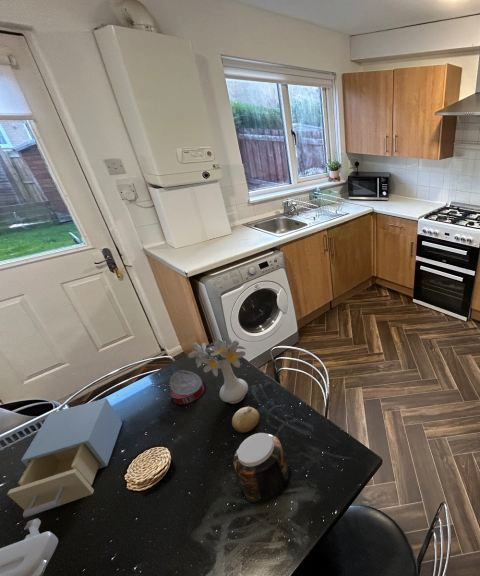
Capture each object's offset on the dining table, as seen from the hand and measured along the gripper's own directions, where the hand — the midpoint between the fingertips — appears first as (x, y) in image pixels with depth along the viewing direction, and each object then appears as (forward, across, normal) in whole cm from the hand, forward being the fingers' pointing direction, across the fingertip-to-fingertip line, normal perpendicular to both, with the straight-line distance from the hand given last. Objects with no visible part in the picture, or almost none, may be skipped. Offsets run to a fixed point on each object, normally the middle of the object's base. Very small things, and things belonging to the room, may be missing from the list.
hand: (5, 531), depth 65 cm
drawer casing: (+28, -1, +13) cm, 30 cm away
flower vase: (+32, -42, +13) cm, 54 cm away
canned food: (+41, -27, +13) cm, 50 cm away
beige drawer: (+16, -1, +12) cm, 20 cm away
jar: (-3, -50, +12) cm, 52 cm away
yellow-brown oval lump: (+18, -46, +12) cm, 51 cm away
